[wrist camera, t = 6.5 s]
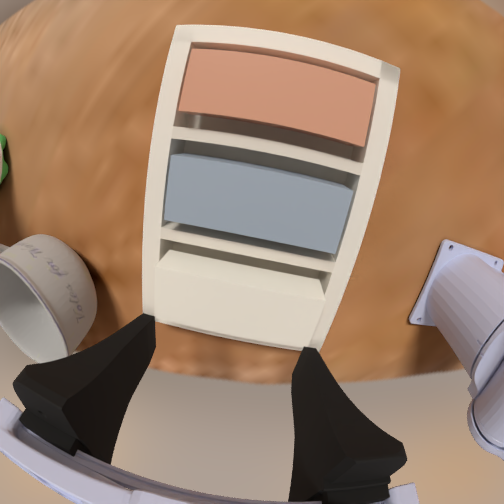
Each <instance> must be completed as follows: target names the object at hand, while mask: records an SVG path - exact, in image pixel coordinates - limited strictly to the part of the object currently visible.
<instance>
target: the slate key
mask: <svg viewBox="0 0 504 504" xmlns="http://www.w3.org/2000/svg"><path fill="white" fill-rule="evenodd" d="M352 195H353V190H351V189H349V188H348V187H346V186H345V185H343V184H340V183H337V182H333V181H329V180H325V179H321V178H317V177H313V176H309V175H304V174H300V173H296V172H291V171H287V170H282V169H277V168H272V167H268V166H263V165H257V164H252V163H247V162H241V161H235V160H230V159H223V158H217V157H211V156H204V155H197V154H190V153H182V154H175V155H171V160H170V168H169V176H168V184H167V193H166V203H165V214H164V220H167V221H173V222H178V223H183V224H188V225H194V226H199V227H204V228H209V229H214V230H220V231H225V232H230V233H235V234H240V235H245V236H250V237H255V238H260V239H265V240H270V241H275V242H280V243H285V244H289V245H294V246H299V247H304V248H309V249H313V250H318V251H323V252H328V253H332V254H336V251H337V247H338V244H339V241H340V237H341V234H342V231H343V227H344V224H345V220H346V217H347V213H348V210H349V206H350V202H351V199H352Z"/></svg>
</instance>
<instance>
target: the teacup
mask: <svg viewBox="0 0 504 504" xmlns="http://www.w3.org/2000/svg"><path fill="white" fill-rule="evenodd" d="M96 312H97V296H96V290H95V286H94V284H93V281H92V278H91V276H90V273H89V271H88V269H87V267H86V265H85V263H84V262H83V260H82V259H81V258H80V257H79V255H78V254H77V253H76V252H75V251H74V250H73V249H71V248H70V247H69V246H68V245H67V244H65V243H64V242H62V241H61V240H59V239H57V238H55V237H53V236H50V235H45V234H39V235H33V236H30V237H27V238H25V239H23V240H21V241H19V242H18V243H16V244H14V245H13V246H11V247H8V246H5V245H3V244H0V325H1V327H2V328H3V329H4V331H5V332H6V334H7V335H8V336H9V337H10V339H11V340H12V341H13V342H14V343H15V344H16V346H17V347H19V349H20V350H21V351H23V352H24V353H25V354H26V355H27V356H29V357H30V358H31V359H33V360H34V361H36V362H37V363H45V362H50V361H54V360H58V359H61V358H64V357H67V356H70V355H72V353H73V352H74V351H75V349H76V348H77V347H78V345H79V344H80V343H81V341H82V340H83V338H84V337H85V336H86V334H87V332H88V331H89V329H90V328H91V326H92V324H93V322H94V319H95V316H96Z"/></svg>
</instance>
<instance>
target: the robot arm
mask: <svg viewBox="0 0 504 504" xmlns="http://www.w3.org/2000/svg"><path fill="white" fill-rule="evenodd" d="M450 245H451V247H450ZM449 247H450V249H449ZM503 263H504V262H503V260H502V259H500V258H497V257H495V256H492V255H489V254H487V253H484V252H481V251H479V250H476V249H473V248H470V247H468V246H465V245H462V244H459V243H456V242H453V241H450V240H447V239H445V240H443V241H442V243H441V245H440V248H439V251H438V253H437V256H436V258H435V261H434V263H433V266H432V268H431V271H430V273H429V276H428V278H427V280H426V283H425V285H424V287H423V289H422V292H421V294H420V296H419V298H418V300H417V302H416V304H415V306H414V308H413V310H412V313H411V314H410V316H409V321H410V323H412V324H419V325H428V326H437V328H438V329H439V330H440V332H441V333H442V335H443V336H444V338H445V339H446V341H447V342H448V343H449V345H450V346H451V348H452V349H453V351H454V352H455V354H456V356H457V357H458V359H459V360H460V362H461V363H462V365H463V366H464V368H465V370H466V371H467V373H468V374H469V376H470V378H471V379H472V381H471V384H470V385H469V387H468V391H469V393H470V395H471V396H472V398H473V399H472V401H471V403H470V404H469V407H468V412H467V421H468V426H469V430H470V432H471V434H472V436H473V438H474V440H475V441H476V442H477V444H478V445H479V446H481V448H483V449H484V450H486V451H487V452H489V453H492V454H494V455H497V456H498V457H500V458H501V459H502V460H504V273H503V272H502V271H501V269H502V267H503ZM418 318H419V319H418ZM417 319H418V320H417ZM155 348H156V338H155V316H152V315H148V314H145V313H143V314H142V315H140V316H139V317H137V318H136V319H134V320H133V321H132V322H130V323H129V324H127V325H126V326H124V327H123V328H122V329H120V330H119V331H117V332H116V333H114V334H113V335H111V336H109V337H108V338H106V339H104V340H103V341H101V342H99V343H97V344H96V345H94V346H92V347H90V348H87V349H85V350H83V351H81V352H78V353H76V354H73V355H70V356H67V357H64V358H61V359H58V360H54V361H50V362H45V363H39V364H32V365H27V366H26V367H25V368H24V369H23V370H22V372H21V373H20V374H19V375H18V377H17V378H16V379H15V380H14V382H13V387H14V390H15V392H16V394H17V396H18V397H19V399H20V400H21V401H22V403H23V405H24V406H25V408H26V409H25V411H24V412H22V411H21V410H20V409H19V408H18V407H16V406H15V405H14V404H12V403H11V402H10V401H8V400H7V399H6V398H2V399H1V400H0V451H1V452H2V453H3V454H4V455H5V456H6V457H8V458H9V459H10V460H11V461H13V462H14V463H15V464H17V465H18V466H19V467H20V468H22V469H23V470H24V471H26V472H27V473H28V474H30V475H31V476H33V477H34V478H35V479H37V480H38V481H40V482H41V483H43V484H44V485H46V486H47V487H49V488H50V489H52V490H54V491H55V492H57V493H58V494H60V495H62V496H63V497H65V498H67V499H69V500H70V501H72V502H74V503H76V504H419V500H418V495H417V491H416V487H415V483H409V484H404V485H400V486H396V487H393V488H390V489H388V484H389V483H390V482H391V480H390V476H391V475H392V474H393V473H395V472H396V471H397V470H399V469H400V468H401V467H402V466H403V465H404V464H405V463H406V461H407V456H406V453H405V449H404V446H403V443H402V442H400V441H398V440H397V439H395V438H394V437H392V436H390V435H389V434H387V433H386V432H384V431H383V430H382V429H380V428H379V427H378V426H376V425H375V424H374V423H373V422H372V421H370V420H369V419H368V418H367V417H366V416H365V415H364V414H363V413H362V412H361V411H360V410H359V409H358V408H357V407H356V406H355V405H354V404H353V403H352V401H351V400H350V399H349V398H348V397H347V396H346V394H345V393H344V392H343V390H342V389H341V388H340V386H339V385H338V383H337V382H336V380H335V379H334V377H333V376H332V374H331V373H330V371H329V369H328V368H327V366H326V364H325V363H324V361H323V359H322V357H321V356H320V354H319V352H318V351H317V349H316V348H312V347H303V350H302V352H301V355H300V357H299V359H298V362H297V364H296V367H295V369H294V371H293V374H292V387H291V389H292V390H291V393H292V394H291V395H292V405H293V406H292V407H293V417H294V431H295V441H294V459H293V470H292V479H291V487H290V493H289V499H288V502H276V501H259V500H248V499H239V498H230V497H224V496H218V495H212V494H206V493H201V492H196V491H192V490H187V489H183V488H179V487H175V486H171V485H168V484H164V483H161V482H157V481H154V480H150V479H147V478H144V477H141V476H139V475H135V474H133V473H130V472H127V471H125V470H122V469H120V468H117V467H115V466H112V465H111V460H112V456H113V451H114V447H115V443H116V440H117V436H118V433H119V430H120V427H121V424H122V421H123V418H124V415H125V412H126V410H127V407H128V404H129V402H130V400H131V397H132V395H133V393H134V392H135V390H136V388H137V385H138V384H139V382H140V380H141V378H142V377H143V375H144V373H145V371H146V369H147V367H148V365H149V364H150V361H151V358H152V356H153V353H154V350H155ZM126 488H128V489H126ZM129 489H130V490H129ZM132 490H133V491H132Z"/></svg>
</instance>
